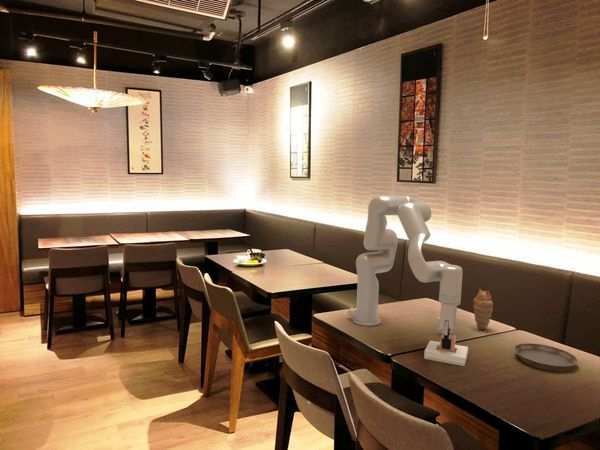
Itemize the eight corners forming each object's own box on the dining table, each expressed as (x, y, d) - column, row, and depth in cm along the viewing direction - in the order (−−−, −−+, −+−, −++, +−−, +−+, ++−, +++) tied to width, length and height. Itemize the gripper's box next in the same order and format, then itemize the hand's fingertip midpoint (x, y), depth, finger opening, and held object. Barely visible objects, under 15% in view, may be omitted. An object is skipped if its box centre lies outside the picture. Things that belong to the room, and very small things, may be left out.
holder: (424, 358, 170) (424, 350, 170) (429, 347, 181) (430, 340, 181) (464, 366, 165) (465, 358, 164) (467, 354, 175) (468, 346, 175)
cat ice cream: (467, 328, 206) (470, 288, 204) (480, 325, 210) (483, 286, 208) (483, 334, 198) (486, 293, 196) (496, 332, 202) (499, 291, 200)
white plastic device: (450, 333, 199) (451, 315, 198) (452, 334, 197) (454, 316, 196) (435, 334, 197) (436, 315, 196) (437, 335, 195) (438, 317, 195)
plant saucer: (576, 358, 175) (577, 350, 174) (577, 379, 157) (578, 369, 157) (516, 347, 185) (517, 339, 185) (510, 365, 167) (511, 356, 167)
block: (439, 353, 172) (440, 335, 172) (440, 350, 175) (442, 332, 174) (453, 356, 170) (455, 338, 169) (454, 353, 173) (456, 335, 172)
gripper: (442, 292, 179) (439, 338, 181) (435, 302, 165) (432, 352, 167) (462, 295, 176) (459, 342, 178) (458, 305, 162) (454, 356, 164)
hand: (446, 346), depth 173 cm, fingers closed on block, 2 cm apart
